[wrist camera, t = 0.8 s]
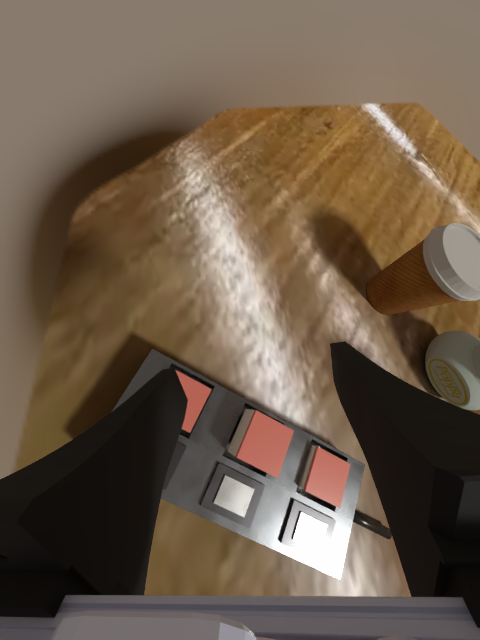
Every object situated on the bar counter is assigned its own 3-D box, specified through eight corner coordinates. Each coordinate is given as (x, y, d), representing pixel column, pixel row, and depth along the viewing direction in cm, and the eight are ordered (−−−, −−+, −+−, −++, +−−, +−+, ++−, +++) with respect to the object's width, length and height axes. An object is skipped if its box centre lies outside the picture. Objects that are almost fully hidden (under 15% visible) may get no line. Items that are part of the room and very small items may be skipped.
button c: (185, 429, 24) (189, 432, 22) (147, 410, 24) (147, 411, 21) (205, 390, 26) (211, 389, 23) (170, 371, 25) (172, 368, 23)
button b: (264, 469, 24) (277, 478, 21) (227, 451, 23) (236, 457, 21) (279, 427, 25) (294, 430, 23) (245, 408, 25) (256, 410, 22)
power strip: (373, 585, 27) (403, 610, 24) (88, 453, 22) (78, 462, 19) (391, 483, 31) (418, 492, 28) (152, 353, 26) (152, 347, 23)
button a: (321, 498, 26) (340, 508, 24) (290, 481, 26) (305, 491, 23) (332, 458, 28) (350, 464, 26) (302, 442, 28) (318, 446, 25)
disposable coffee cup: (404, 335, 38) (505, 310, 28) (352, 309, 37) (438, 271, 26) (408, 283, 42) (498, 243, 31) (361, 257, 40) (440, 205, 29)
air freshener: (406, 348, 38) (487, 332, 29) (437, 329, 41) (518, 309, 32) (444, 418, 36) (542, 425, 27) (472, 393, 40) (568, 391, 31)
